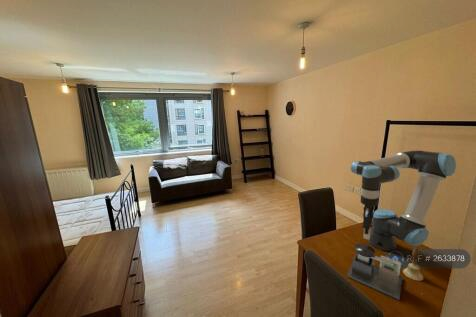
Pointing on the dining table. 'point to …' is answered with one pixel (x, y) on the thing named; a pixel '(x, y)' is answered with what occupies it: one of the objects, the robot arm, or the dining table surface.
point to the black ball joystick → (368, 254)
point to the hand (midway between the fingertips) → (366, 238)
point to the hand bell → (414, 267)
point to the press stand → (378, 276)
